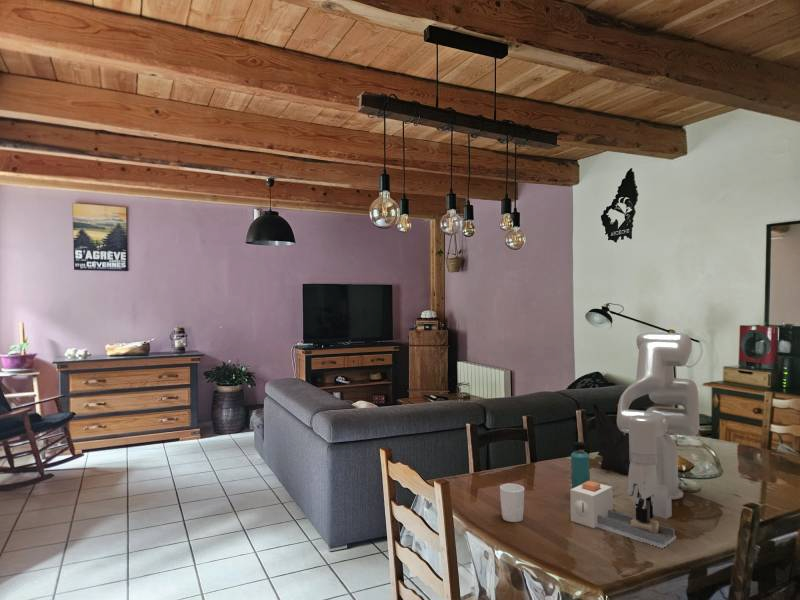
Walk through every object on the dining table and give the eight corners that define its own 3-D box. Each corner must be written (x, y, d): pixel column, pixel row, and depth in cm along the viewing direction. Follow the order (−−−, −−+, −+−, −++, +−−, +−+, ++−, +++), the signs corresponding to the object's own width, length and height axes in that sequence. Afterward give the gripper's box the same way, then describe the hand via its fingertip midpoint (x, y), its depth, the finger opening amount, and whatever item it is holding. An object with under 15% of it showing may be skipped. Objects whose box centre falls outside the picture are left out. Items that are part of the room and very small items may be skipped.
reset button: (589, 492, 170) (588, 480, 171) (600, 496, 167) (600, 483, 167) (582, 495, 168) (582, 483, 168) (594, 499, 165) (593, 486, 165)
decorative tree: (604, 474, 222) (569, 413, 212) (622, 449, 228) (588, 389, 218) (634, 483, 209) (598, 419, 200) (652, 457, 215) (618, 394, 206)
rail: (610, 519, 167) (610, 509, 167) (675, 539, 152) (675, 528, 152) (596, 527, 162) (596, 516, 162) (662, 548, 146) (662, 537, 146)
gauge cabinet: (590, 510, 174) (589, 480, 175) (613, 517, 168) (612, 486, 169) (570, 521, 166) (569, 489, 167) (593, 528, 160) (592, 496, 160)
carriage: (638, 525, 159) (637, 496, 159) (658, 531, 154) (657, 501, 154) (630, 530, 155) (630, 500, 155) (651, 536, 151) (650, 505, 151)
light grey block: (666, 519, 166) (665, 488, 166) (645, 513, 172) (645, 483, 172) (671, 516, 169) (671, 486, 169) (651, 510, 174) (650, 480, 174)
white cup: (497, 514, 173) (496, 484, 173) (520, 512, 174) (519, 482, 174) (504, 523, 165) (503, 492, 165) (528, 522, 166) (527, 491, 166)
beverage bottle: (592, 502, 182) (591, 445, 182) (572, 501, 183) (571, 444, 184) (589, 495, 188) (588, 440, 189) (570, 494, 190) (569, 439, 190)
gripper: (642, 450, 163) (643, 508, 163) (617, 460, 152) (619, 523, 152) (667, 454, 158) (668, 515, 157) (643, 466, 147) (645, 531, 147)
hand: (644, 518), depth 155 cm, fingers closed on carriage, 3 cm apart
